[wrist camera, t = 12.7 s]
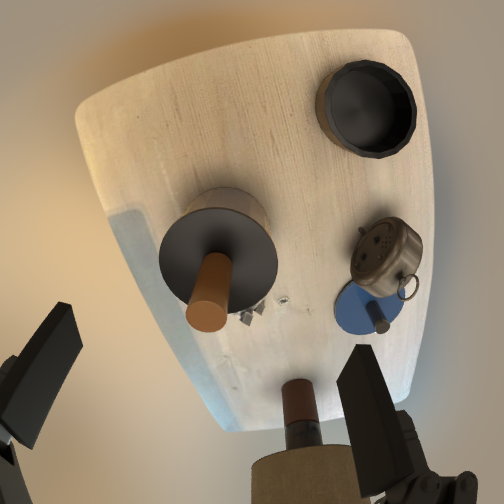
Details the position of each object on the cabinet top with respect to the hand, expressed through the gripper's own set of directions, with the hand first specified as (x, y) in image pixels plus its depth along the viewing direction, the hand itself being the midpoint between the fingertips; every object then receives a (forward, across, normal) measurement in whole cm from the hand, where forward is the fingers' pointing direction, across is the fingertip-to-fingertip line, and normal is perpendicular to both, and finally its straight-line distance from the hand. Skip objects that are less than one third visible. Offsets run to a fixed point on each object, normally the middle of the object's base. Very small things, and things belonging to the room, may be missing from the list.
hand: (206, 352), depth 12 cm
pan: (+31, +15, +14) cm, 37 cm away
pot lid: (+30, +26, -17) cm, 43 cm away
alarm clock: (+31, +21, -5) cm, 37 cm away
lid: (+20, -1, -7) cm, 21 cm away
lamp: (+30, +18, -42) cm, 55 cm away
